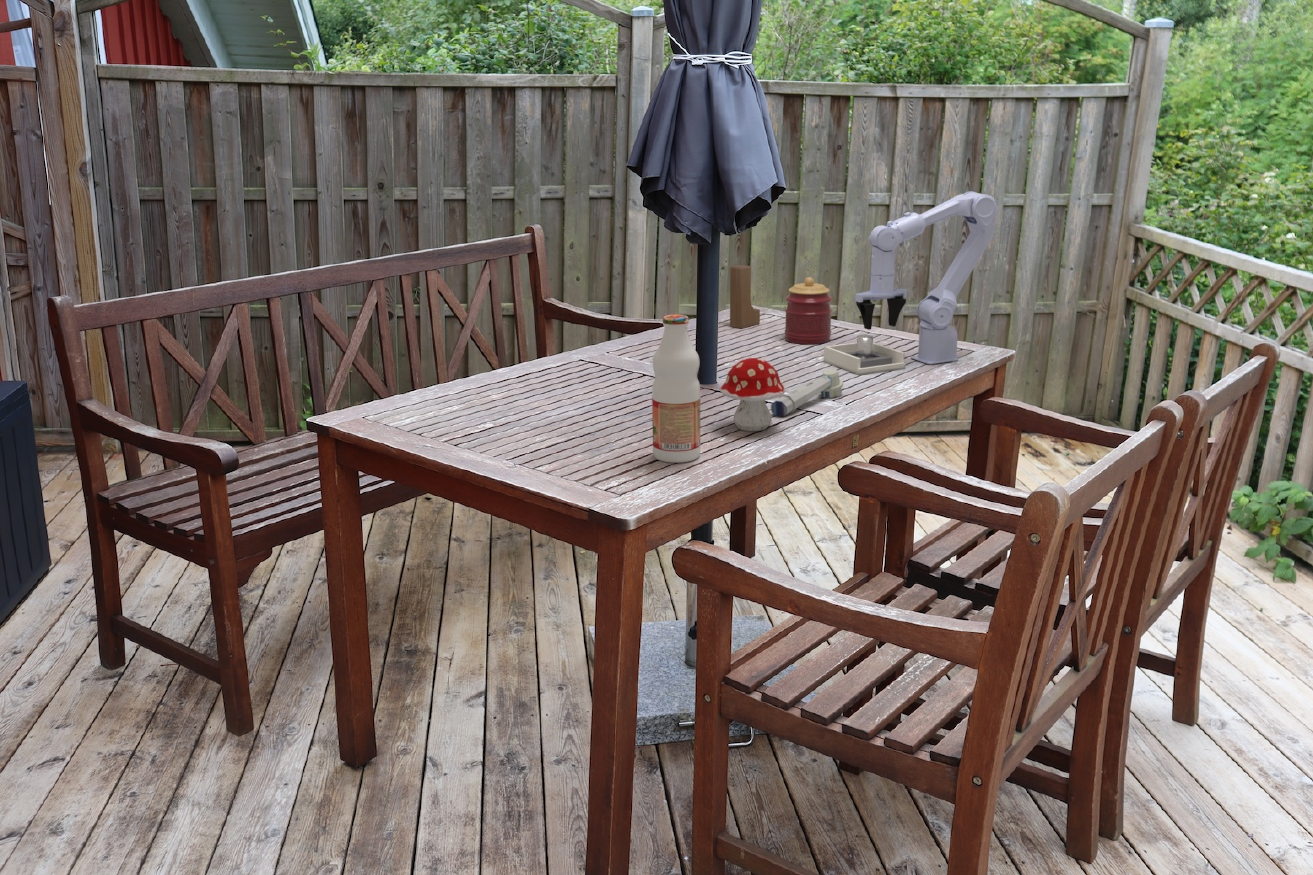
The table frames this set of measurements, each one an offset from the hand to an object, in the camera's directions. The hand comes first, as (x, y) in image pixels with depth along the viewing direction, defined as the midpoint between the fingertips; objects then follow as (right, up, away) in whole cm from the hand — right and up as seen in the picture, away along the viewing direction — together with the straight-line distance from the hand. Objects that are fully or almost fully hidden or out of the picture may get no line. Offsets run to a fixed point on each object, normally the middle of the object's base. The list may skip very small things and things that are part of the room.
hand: (879, 327), depth 300 cm
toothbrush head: (-23, -21, -33) cm, 45 cm away
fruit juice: (-53, -32, -68) cm, 92 cm away
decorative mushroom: (-37, -26, -50) cm, 67 cm away
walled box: (-4, -10, +1) cm, 10 cm away
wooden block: (-31, +5, +49) cm, 58 cm away
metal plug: (-4, -9, +1) cm, 10 cm away
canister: (-15, -1, +30) cm, 33 cm away
